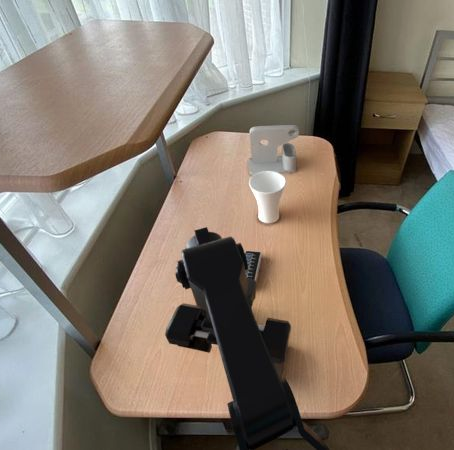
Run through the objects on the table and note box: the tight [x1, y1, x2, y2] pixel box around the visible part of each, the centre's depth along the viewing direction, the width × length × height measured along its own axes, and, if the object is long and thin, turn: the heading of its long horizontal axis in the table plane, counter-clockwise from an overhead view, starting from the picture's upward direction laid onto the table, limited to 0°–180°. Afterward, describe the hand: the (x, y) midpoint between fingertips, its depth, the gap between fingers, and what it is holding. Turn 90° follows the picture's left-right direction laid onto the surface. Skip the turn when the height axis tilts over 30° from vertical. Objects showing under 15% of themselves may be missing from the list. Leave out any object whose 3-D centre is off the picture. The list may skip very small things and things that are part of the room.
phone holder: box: [248, 124, 300, 176], centre depth 114 cm, size 17×10×18 cm, turn 100°
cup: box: [248, 171, 287, 224], centre depth 96 cm, size 10×10×14 cm
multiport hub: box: [244, 250, 263, 284], centre depth 85 cm, size 4×11×2 cm, turn 176°
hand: (235, 354), depth 57 cm, fingers open, 9 cm apart
